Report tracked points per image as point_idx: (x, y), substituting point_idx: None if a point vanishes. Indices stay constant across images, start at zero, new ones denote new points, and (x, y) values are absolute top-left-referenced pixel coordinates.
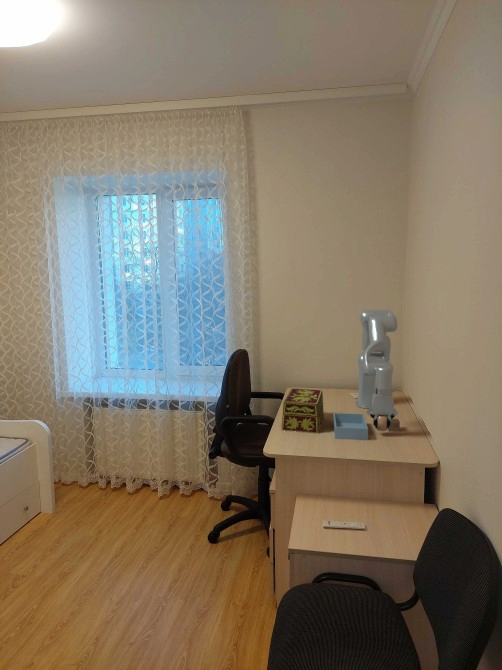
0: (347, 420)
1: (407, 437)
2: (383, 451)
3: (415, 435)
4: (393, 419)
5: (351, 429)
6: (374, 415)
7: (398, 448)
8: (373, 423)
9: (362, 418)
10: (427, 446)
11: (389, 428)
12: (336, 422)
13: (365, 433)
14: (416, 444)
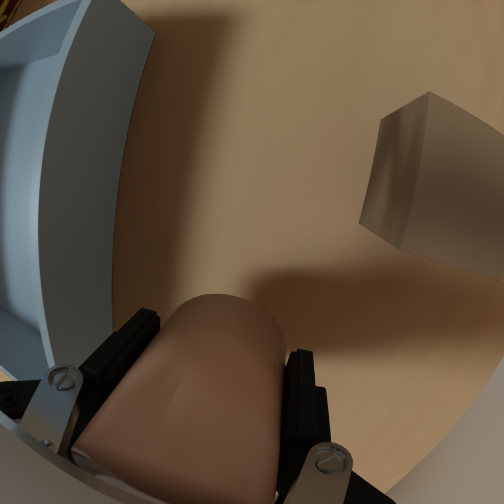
0: (37, 51)
1: (422, 372)
2: None
3: (487, 337)
4: (483, 163)
5: (4, 363)
6: (49, 412)
7: None
8: (110, 338)
9: (84, 52)
10: (421, 457)
11: (370, 229)
12: (11, 70)
13: None
14: (392, 449)
